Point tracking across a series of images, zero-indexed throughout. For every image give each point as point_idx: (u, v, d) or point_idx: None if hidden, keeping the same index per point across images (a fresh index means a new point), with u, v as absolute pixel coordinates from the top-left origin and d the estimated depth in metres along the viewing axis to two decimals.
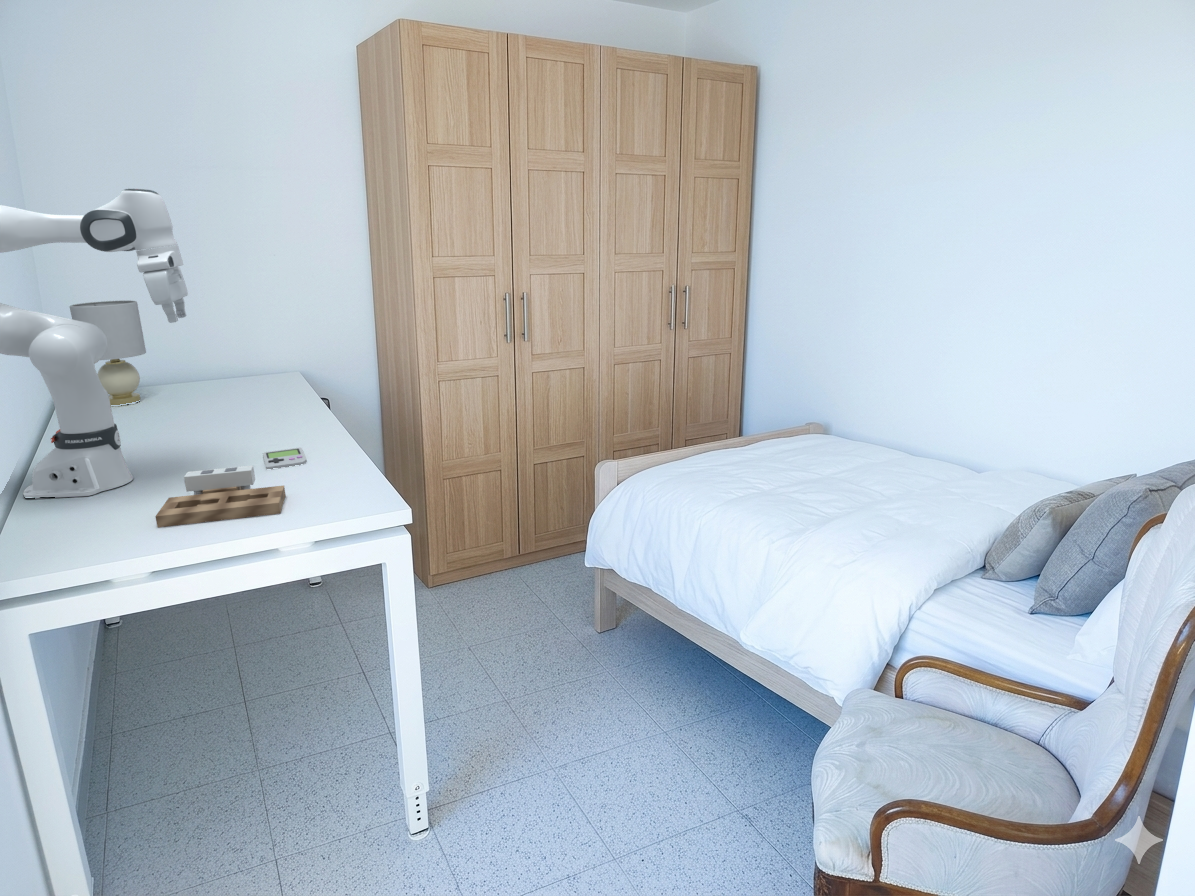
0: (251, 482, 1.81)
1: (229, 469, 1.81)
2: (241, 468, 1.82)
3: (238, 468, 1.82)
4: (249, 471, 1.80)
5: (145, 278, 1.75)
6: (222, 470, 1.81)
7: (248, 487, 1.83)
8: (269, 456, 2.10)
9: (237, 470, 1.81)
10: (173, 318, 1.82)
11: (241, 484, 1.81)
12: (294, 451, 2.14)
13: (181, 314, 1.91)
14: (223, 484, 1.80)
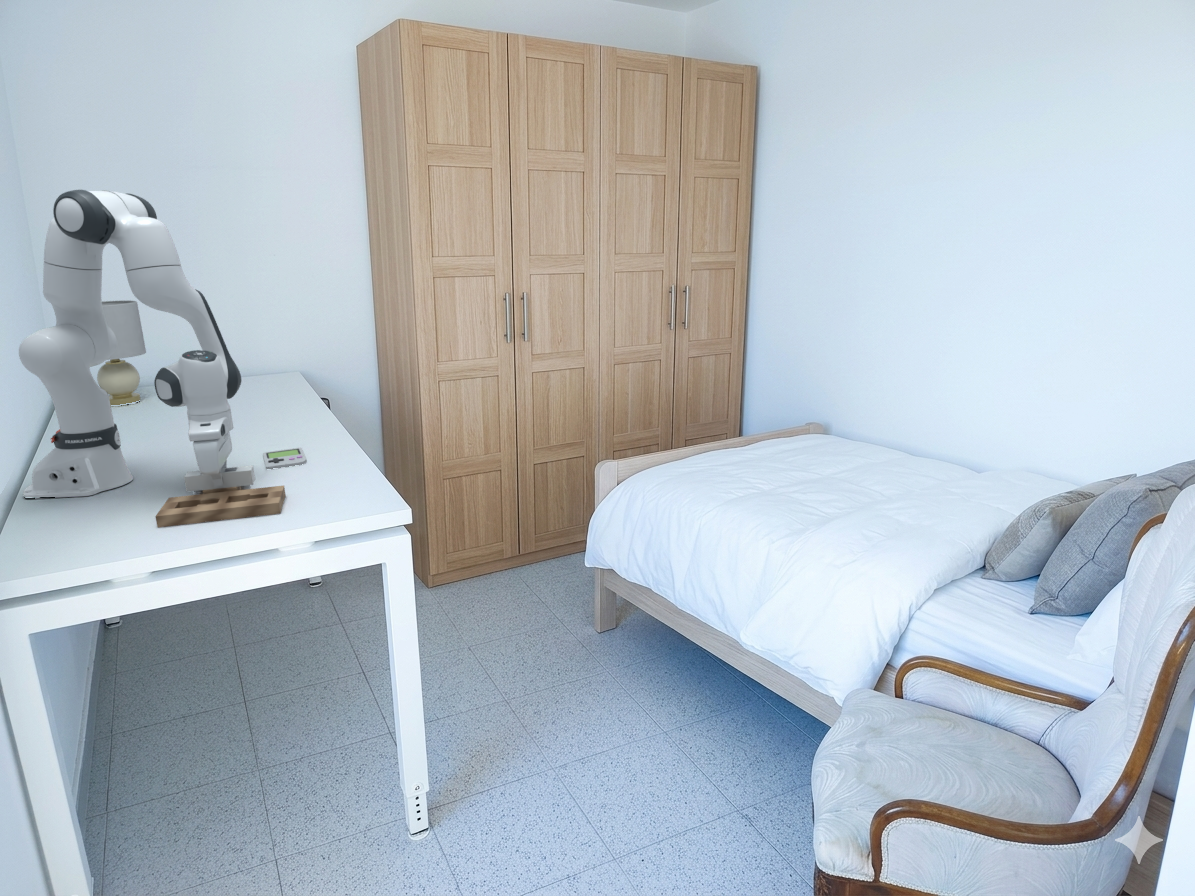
0: (251, 482, 1.81)
1: (229, 469, 1.81)
2: (241, 468, 1.82)
3: (238, 468, 1.82)
4: (249, 471, 1.80)
5: (195, 448, 1.69)
6: (222, 470, 1.81)
7: (248, 487, 1.83)
8: (269, 456, 2.10)
9: (237, 470, 1.81)
10: (219, 482, 1.78)
11: (241, 484, 1.81)
12: (294, 451, 2.14)
13: None
14: (223, 484, 1.80)
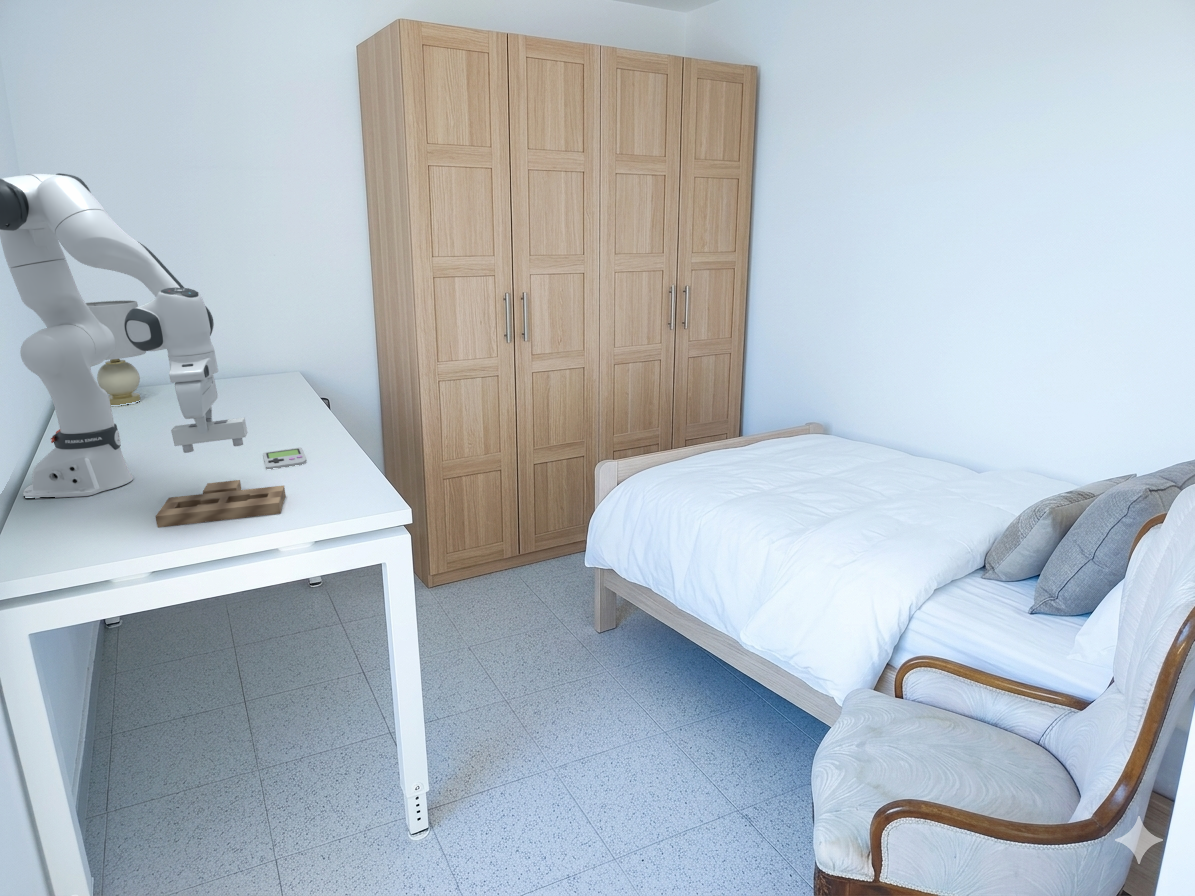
0: (243, 434, 1.71)
1: (219, 421, 1.70)
2: (232, 420, 1.71)
3: (229, 420, 1.71)
4: (240, 423, 1.70)
5: (177, 390, 1.58)
6: (211, 423, 1.70)
7: (240, 440, 1.72)
8: (269, 456, 2.10)
9: (228, 422, 1.70)
10: (204, 429, 1.67)
11: (232, 437, 1.70)
12: (294, 451, 2.14)
13: None
14: (214, 437, 1.69)
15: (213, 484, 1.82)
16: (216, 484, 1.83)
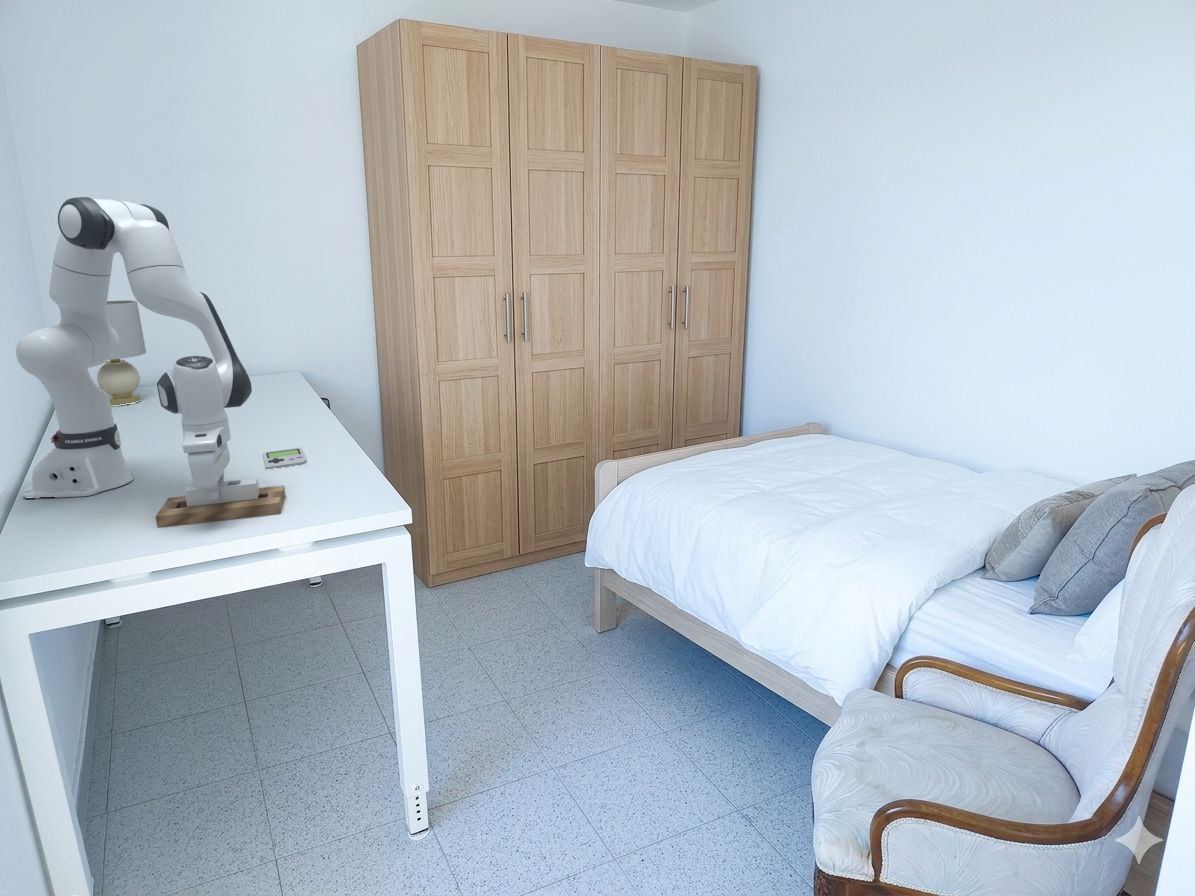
0: (255, 496, 1.71)
1: (232, 482, 1.71)
2: (245, 481, 1.72)
3: (241, 481, 1.72)
4: (253, 484, 1.71)
5: (190, 461, 1.59)
6: (224, 483, 1.71)
7: None
8: (269, 456, 2.10)
9: (240, 483, 1.71)
10: (215, 496, 1.68)
11: (245, 498, 1.71)
12: (294, 451, 2.14)
13: None
14: (226, 498, 1.70)
15: None
16: None
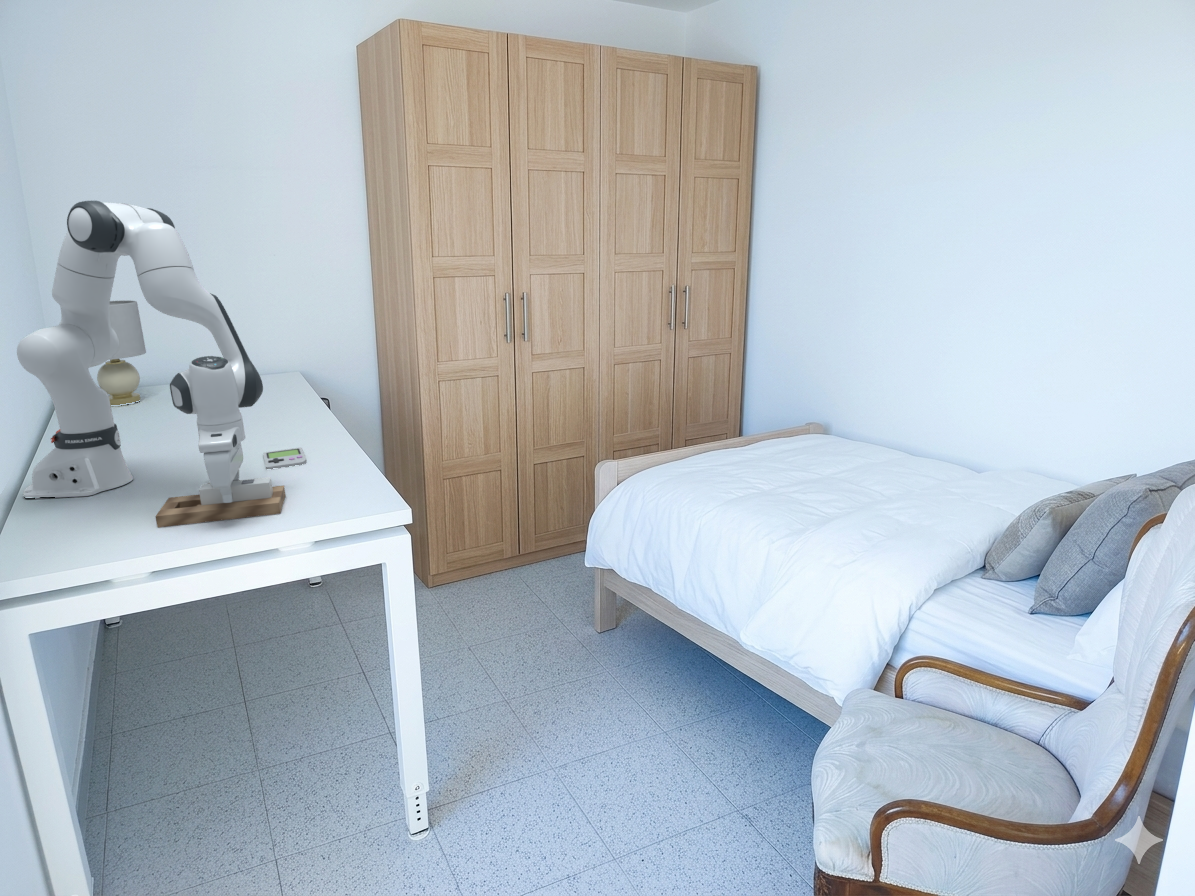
0: (269, 495, 1.72)
1: (246, 481, 1.72)
2: (258, 480, 1.73)
3: (255, 480, 1.73)
4: (267, 483, 1.72)
5: (206, 460, 1.60)
6: (238, 482, 1.72)
7: None
8: (269, 456, 2.10)
9: (254, 482, 1.72)
10: (229, 498, 1.67)
11: (259, 497, 1.72)
12: (294, 451, 2.14)
13: None
14: (240, 497, 1.71)
15: None
16: None
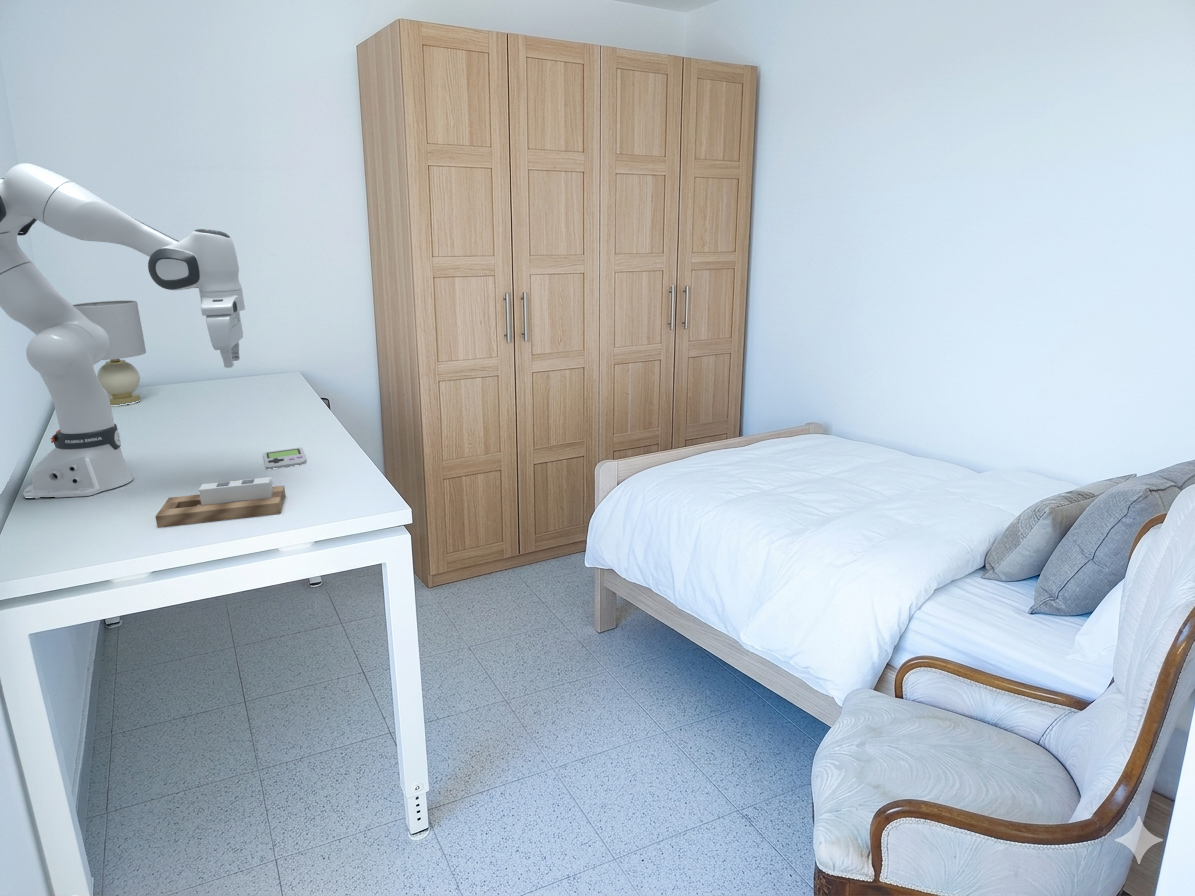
0: (269, 495, 1.72)
1: (246, 481, 1.72)
2: (258, 480, 1.73)
3: (255, 480, 1.73)
4: (267, 483, 1.72)
5: (208, 322, 1.70)
6: (238, 482, 1.72)
7: None
8: (269, 456, 2.10)
9: (254, 482, 1.72)
10: (229, 363, 1.77)
11: (259, 497, 1.72)
12: (294, 451, 2.14)
13: (235, 357, 1.86)
14: (240, 497, 1.71)
15: None
16: None
